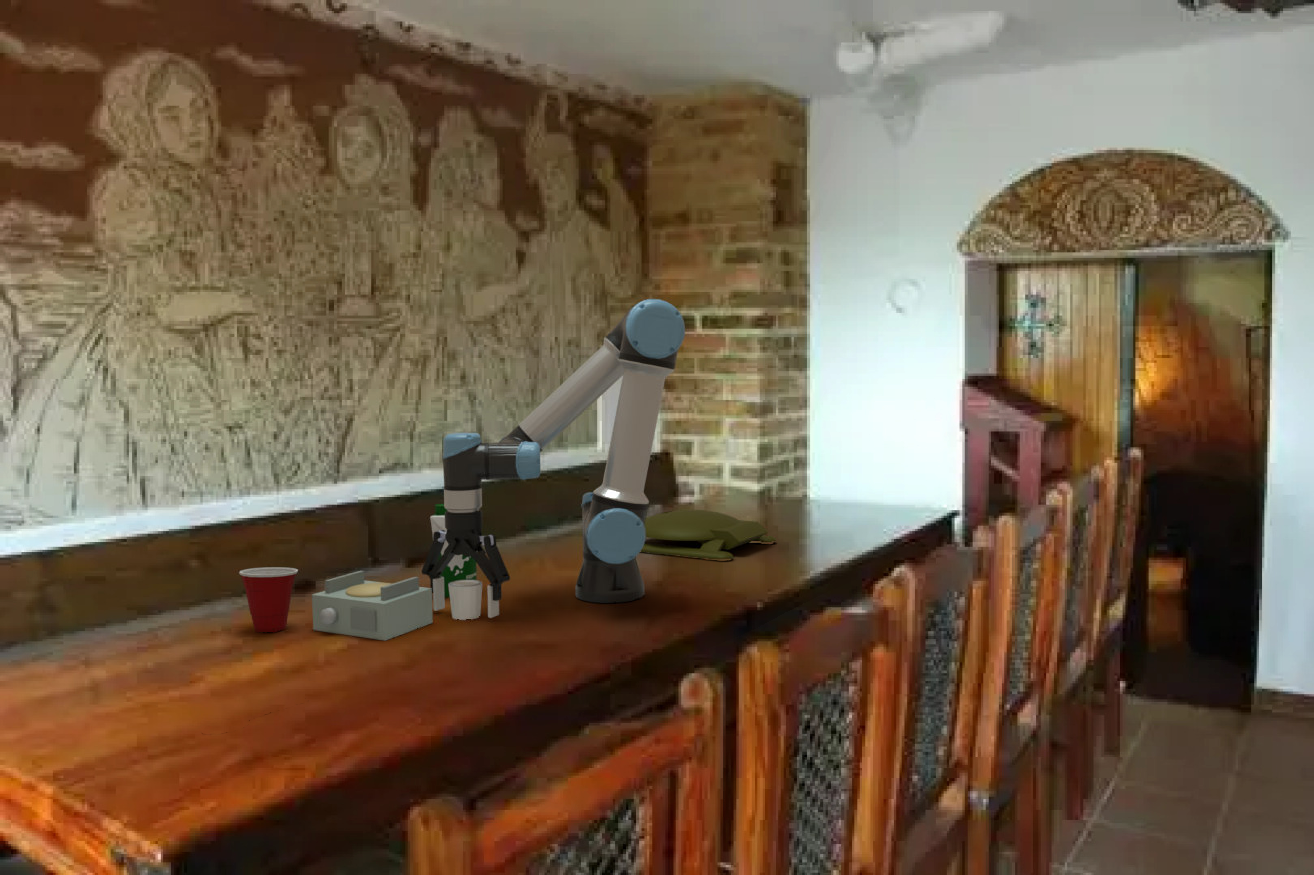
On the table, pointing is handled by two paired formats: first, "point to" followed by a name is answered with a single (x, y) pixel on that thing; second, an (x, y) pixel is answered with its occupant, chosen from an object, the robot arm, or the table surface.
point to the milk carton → (459, 564)
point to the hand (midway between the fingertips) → (466, 612)
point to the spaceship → (701, 533)
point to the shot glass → (465, 599)
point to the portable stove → (371, 607)
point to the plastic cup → (269, 596)
